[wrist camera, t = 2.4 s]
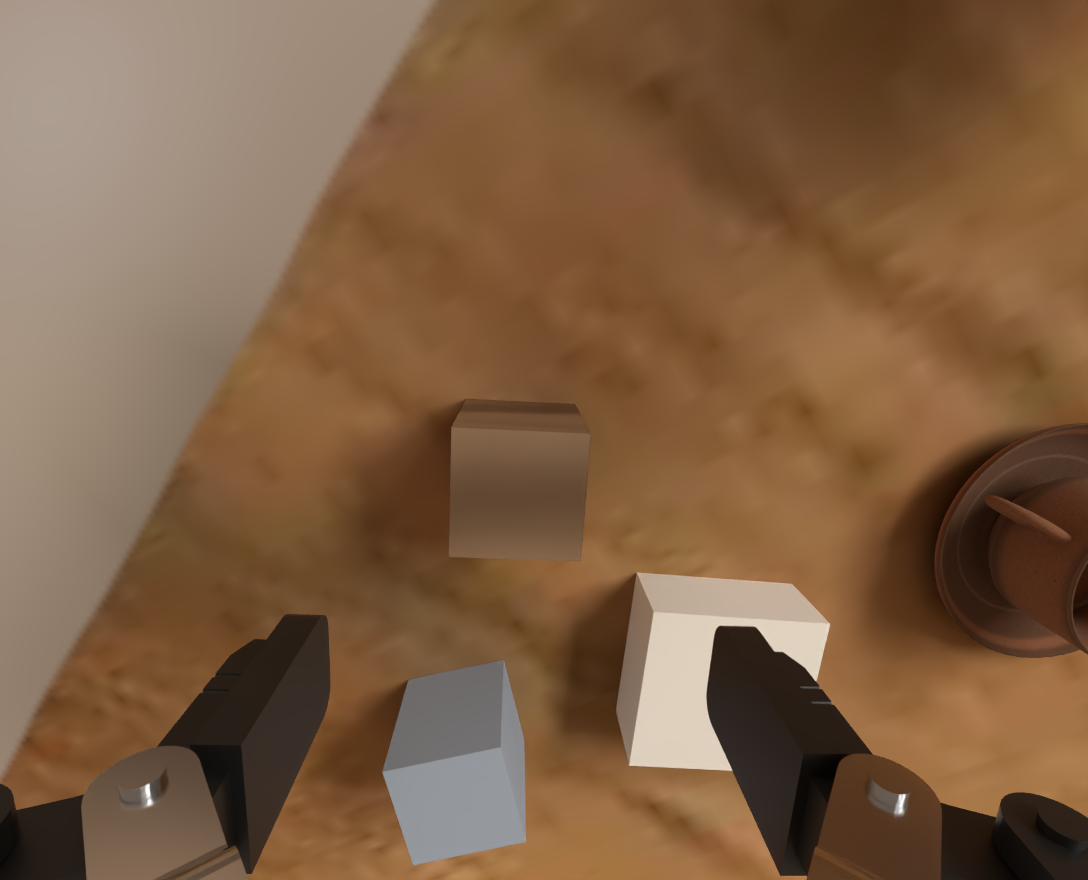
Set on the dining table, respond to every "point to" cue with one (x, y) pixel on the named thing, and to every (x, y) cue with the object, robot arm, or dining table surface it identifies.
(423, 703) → the slate block
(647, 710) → the cream base block
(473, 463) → the walnut block
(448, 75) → the dining table surface
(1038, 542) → the cup and saucer
